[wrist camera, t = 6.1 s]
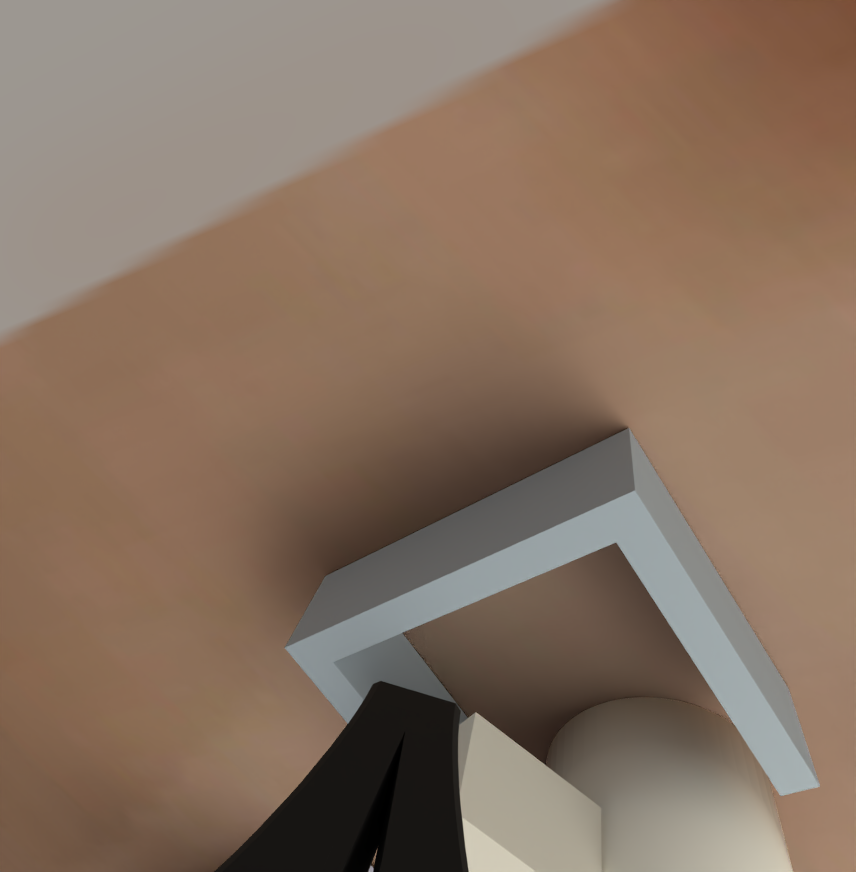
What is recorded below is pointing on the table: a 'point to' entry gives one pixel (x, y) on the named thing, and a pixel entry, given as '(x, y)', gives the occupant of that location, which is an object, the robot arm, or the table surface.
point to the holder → (536, 554)
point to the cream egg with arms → (620, 795)
